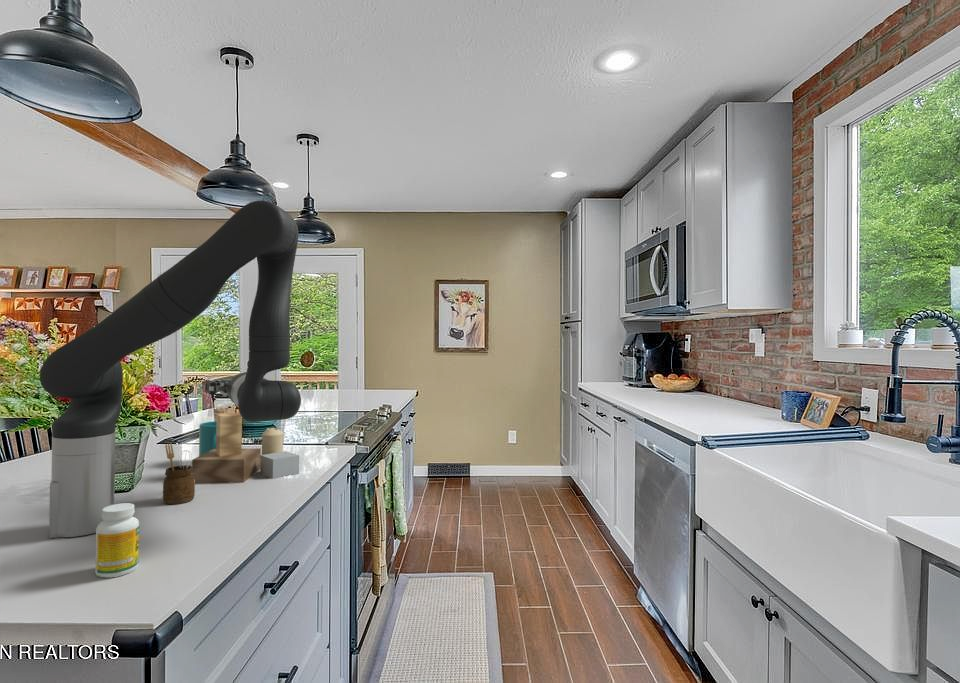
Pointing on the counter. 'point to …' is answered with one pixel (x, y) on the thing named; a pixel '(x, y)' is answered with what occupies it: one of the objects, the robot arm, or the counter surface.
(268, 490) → the counter surface
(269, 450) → the candle
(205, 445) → the cup
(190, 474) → the utensil holder
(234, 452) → the oak pillar
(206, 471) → the walnut block
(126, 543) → the supplement bottle
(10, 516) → the counter surface
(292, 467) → the grey block
